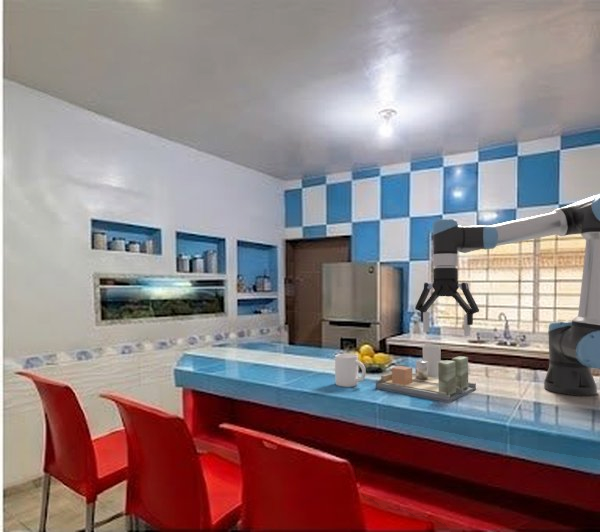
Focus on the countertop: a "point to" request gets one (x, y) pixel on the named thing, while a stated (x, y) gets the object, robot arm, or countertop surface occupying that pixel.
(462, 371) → the strip
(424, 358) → the grey bookend
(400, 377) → the terracotta cube
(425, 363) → the tin can
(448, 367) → the strip
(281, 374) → the countertop surface
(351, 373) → the mug
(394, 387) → the lane board
